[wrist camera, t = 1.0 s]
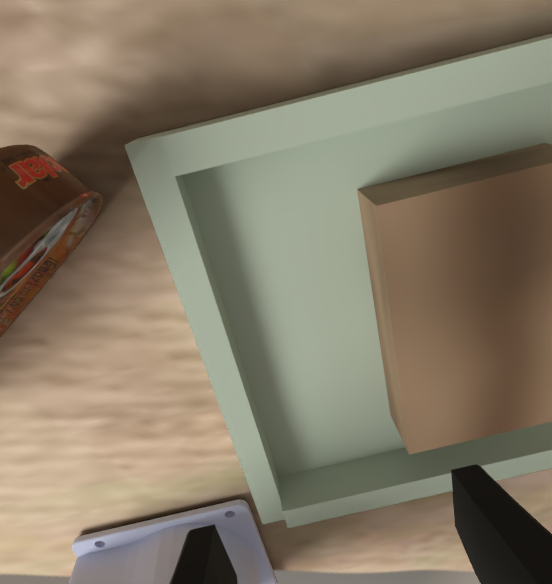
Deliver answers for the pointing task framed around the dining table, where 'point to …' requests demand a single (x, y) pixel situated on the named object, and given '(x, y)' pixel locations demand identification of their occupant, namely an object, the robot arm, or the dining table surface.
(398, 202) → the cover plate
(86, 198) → the tin
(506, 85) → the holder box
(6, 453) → the dining table surface
